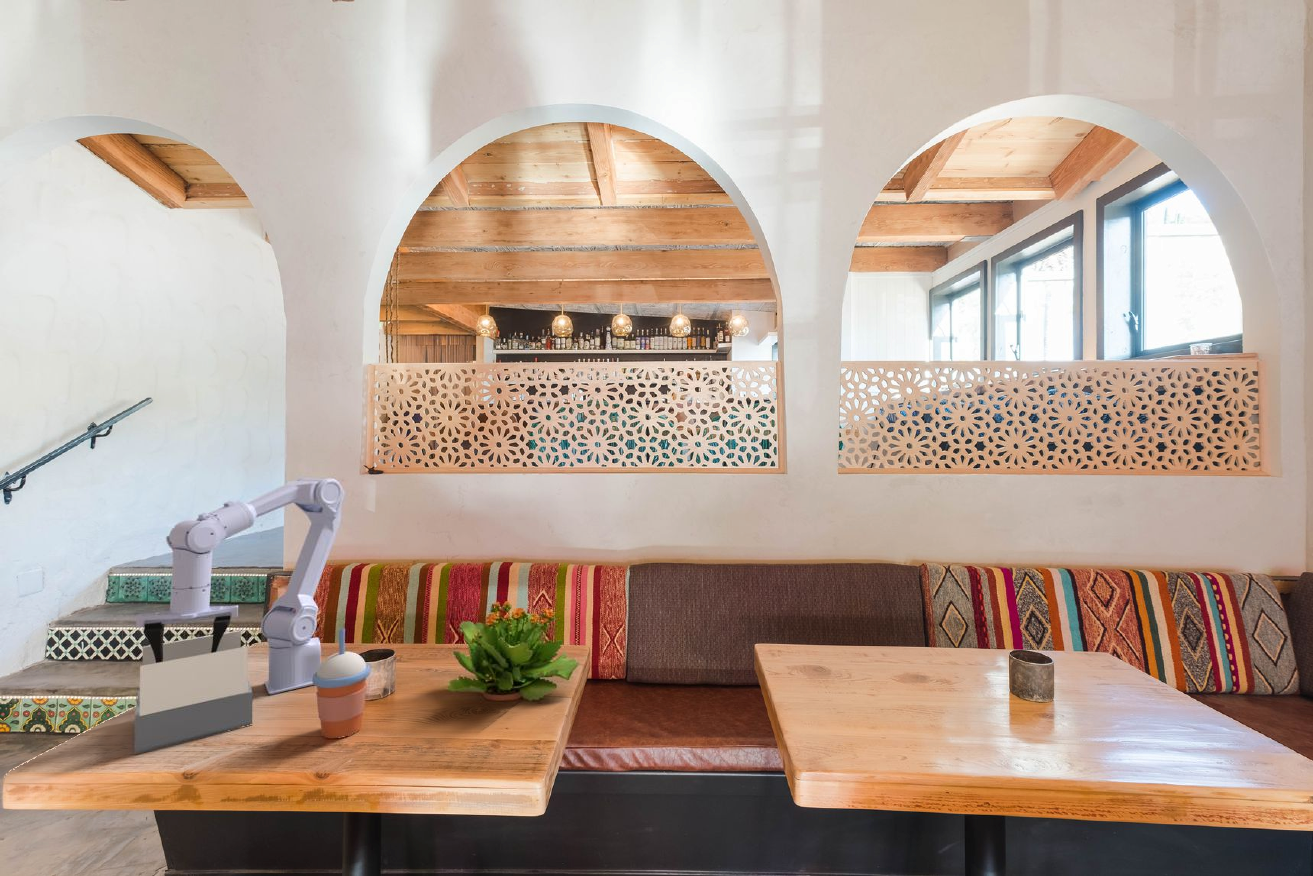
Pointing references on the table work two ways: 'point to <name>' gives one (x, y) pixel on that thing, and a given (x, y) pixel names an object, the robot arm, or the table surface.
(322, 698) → the cup with straw
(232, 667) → the front flap
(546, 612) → the potted flower
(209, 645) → the back flap
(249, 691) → the carton
